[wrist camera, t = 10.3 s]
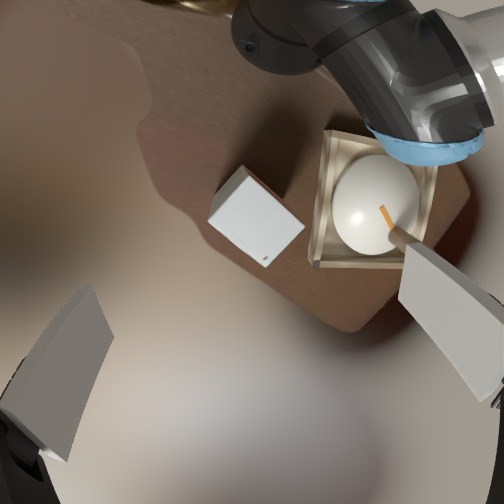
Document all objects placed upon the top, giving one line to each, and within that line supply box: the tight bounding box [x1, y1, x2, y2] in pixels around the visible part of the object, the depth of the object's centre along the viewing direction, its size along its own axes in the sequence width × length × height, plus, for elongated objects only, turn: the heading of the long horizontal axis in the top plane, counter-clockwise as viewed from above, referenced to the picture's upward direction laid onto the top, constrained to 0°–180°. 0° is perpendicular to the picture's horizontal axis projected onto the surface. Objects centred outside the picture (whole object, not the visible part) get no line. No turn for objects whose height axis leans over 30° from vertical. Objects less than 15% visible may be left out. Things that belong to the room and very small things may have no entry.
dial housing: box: [307, 130, 438, 269], centre depth 39 cm, size 20×20×4 cm
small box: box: [208, 165, 305, 267], centre depth 33 cm, size 8×6×13 cm
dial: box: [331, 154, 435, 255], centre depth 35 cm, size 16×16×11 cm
